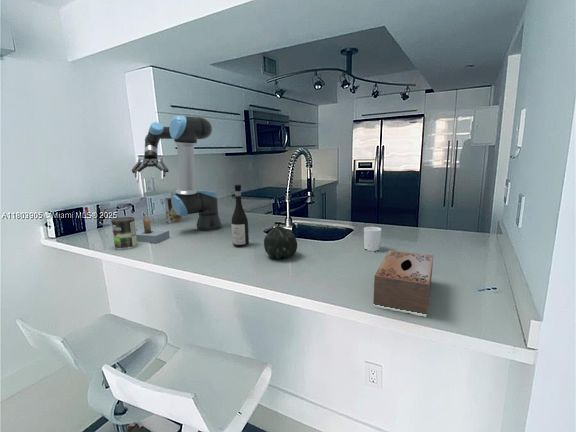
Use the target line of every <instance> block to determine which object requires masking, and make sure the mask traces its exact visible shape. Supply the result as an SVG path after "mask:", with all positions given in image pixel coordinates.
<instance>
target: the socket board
mask: <svg viewBox="0 0 576 432" xmlns="http://www.w3.org/2000/svg"><path fill="white" fill-rule="evenodd" d="M136 230H137V231H136V238H137V243H149V244H159V243H161V242H164V241H166V240H168V239H170V230H164V229H163V230H162V229H161V230H160V229H151V233H150V234H145V231H144V228H140V229H136Z"/></svg>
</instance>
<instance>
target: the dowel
mask: <svg viewBox="0 0 576 432" xmlns="http://www.w3.org/2000/svg"><path fill="white" fill-rule="evenodd" d="M142 221H143V229H144V231H145V234H150V233H151V230H152V227H151V219H150V217H143V218H142Z"/></svg>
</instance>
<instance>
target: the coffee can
mask: <svg viewBox="0 0 576 432" xmlns="http://www.w3.org/2000/svg"><path fill="white" fill-rule="evenodd" d="M110 222H111V227H112V228H111V229H112V234H113V235H112V237H113V242H114V243H113V244H114V249H115V250H121V251H122V250H130V249H134V248H136V247H137V246H138V242H137V238H136V230H137V229H136V223H135V222H136V221H135V217H133V216H123V217H115V218H113V219H111V220H110Z"/></svg>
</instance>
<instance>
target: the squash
mask: <svg viewBox="0 0 576 432" xmlns="http://www.w3.org/2000/svg"><path fill="white" fill-rule="evenodd" d="M263 246H264V251H265V253H267V255H268V256H269V257H270V258H271V259H278V260H281V259H289V258H290V256H291V257H292V256H294V255H295V254H296V252H297V249H298V242H297V238H296V235H295V234H294V233H293V232H292V231H290V230H289V229H287V228H285V227H283V226H280V225H276V226H274V227H273V228H272V229H271V230H269V232H268V233H267V234H266V235H265V237H264V239H263Z"/></svg>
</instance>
